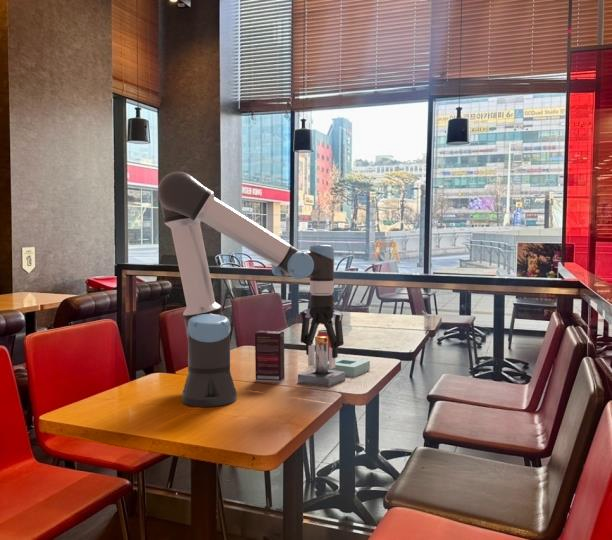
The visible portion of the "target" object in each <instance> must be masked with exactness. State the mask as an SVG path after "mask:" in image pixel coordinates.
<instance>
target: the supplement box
mask: <svg viewBox="0 0 612 540" xmlns="http://www.w3.org/2000/svg"><path fill="white" fill-rule="evenodd" d="M254 349H255V351H254V360H255V361H254V362H255V365H254V366H255V382H262V383H263V382H264V383H265V382H267V383H268V382H269V383H280V384H281V383H283V381H285V378H286V377H285V331H275V330H272V331H271V330H258V331H256V332H254Z"/></svg>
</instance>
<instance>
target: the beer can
mask: <svg viewBox="0 0 612 540" xmlns="http://www.w3.org/2000/svg"><path fill="white" fill-rule="evenodd" d="M317 336H326V337H328V334H327V330H326V329H319V330H318V332H317V334H316V337H317ZM329 348H331V343H330V340H329V337H328V361H329Z"/></svg>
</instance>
